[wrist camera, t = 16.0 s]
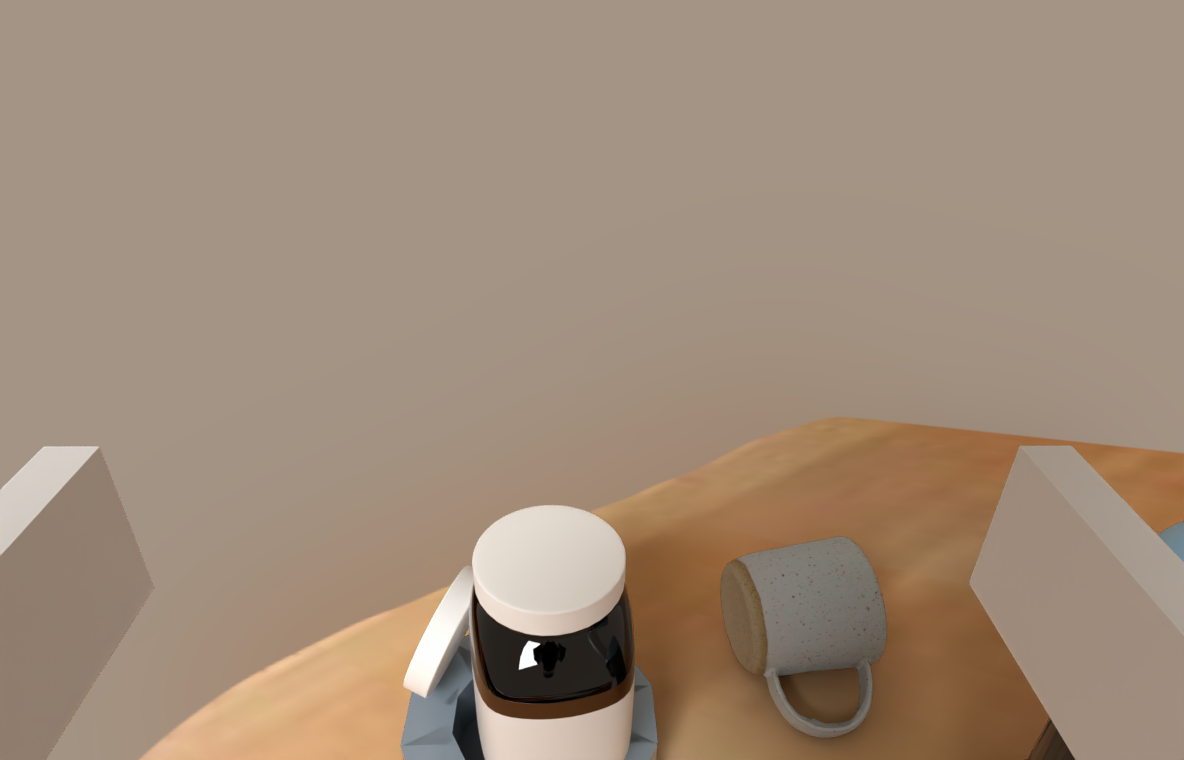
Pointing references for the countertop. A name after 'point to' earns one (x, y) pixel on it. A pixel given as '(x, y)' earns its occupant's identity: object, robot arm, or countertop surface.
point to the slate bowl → (449, 721)
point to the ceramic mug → (806, 619)
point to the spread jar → (541, 637)
